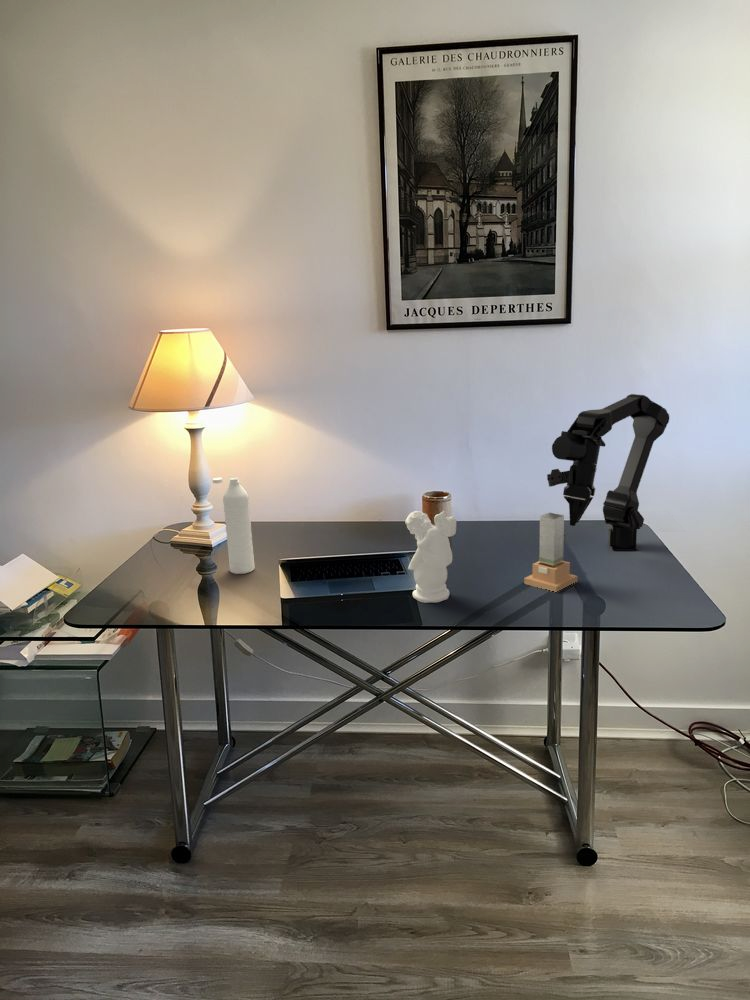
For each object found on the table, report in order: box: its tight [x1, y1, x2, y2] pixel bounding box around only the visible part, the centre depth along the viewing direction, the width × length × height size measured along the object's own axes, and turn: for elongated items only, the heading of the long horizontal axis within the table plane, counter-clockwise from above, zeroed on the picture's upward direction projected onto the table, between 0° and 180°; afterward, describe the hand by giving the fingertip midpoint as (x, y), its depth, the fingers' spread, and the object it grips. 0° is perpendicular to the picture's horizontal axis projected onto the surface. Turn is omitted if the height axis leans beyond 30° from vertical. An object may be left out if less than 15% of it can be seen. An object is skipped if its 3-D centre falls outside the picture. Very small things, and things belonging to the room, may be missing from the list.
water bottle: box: [212, 477, 256, 575], centre depth 206 cm, size 9×6×25 cm
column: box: [538, 512, 565, 566], centre depth 188 cm, size 4×4×11 cm
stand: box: [523, 560, 579, 593], centre depth 190 cm, size 9×9×5 cm
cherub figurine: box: [405, 510, 457, 604], centre depth 184 cm, size 12×12×22 cm
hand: (573, 524), depth 198 cm, fingers open, 9 cm apart
